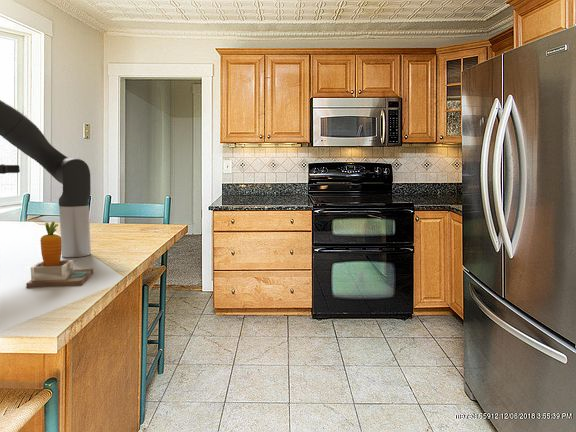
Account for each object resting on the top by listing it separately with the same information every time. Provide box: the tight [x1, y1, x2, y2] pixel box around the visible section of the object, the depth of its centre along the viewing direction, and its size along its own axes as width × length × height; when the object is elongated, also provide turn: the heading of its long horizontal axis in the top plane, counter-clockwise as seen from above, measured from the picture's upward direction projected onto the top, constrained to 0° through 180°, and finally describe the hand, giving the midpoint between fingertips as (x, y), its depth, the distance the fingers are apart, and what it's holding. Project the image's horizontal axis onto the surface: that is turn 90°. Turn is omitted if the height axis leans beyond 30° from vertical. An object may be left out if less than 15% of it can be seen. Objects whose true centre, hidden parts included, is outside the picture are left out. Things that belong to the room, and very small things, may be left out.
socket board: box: [25, 259, 94, 289], centre depth 123 cm, size 14×13×5 cm
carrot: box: [39, 221, 62, 266], centre depth 121 cm, size 5×5×15 cm
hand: (13, 169), depth 124 cm, fingers open, 8 cm apart
